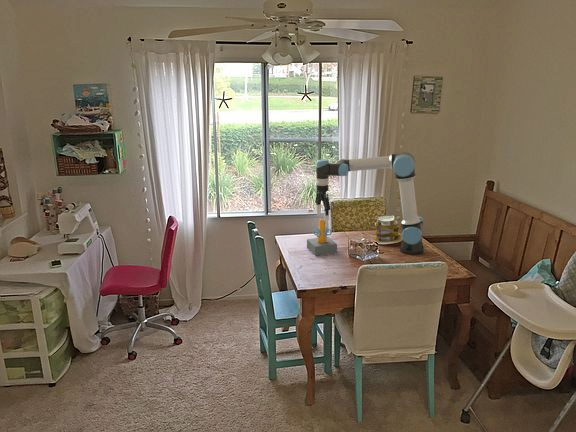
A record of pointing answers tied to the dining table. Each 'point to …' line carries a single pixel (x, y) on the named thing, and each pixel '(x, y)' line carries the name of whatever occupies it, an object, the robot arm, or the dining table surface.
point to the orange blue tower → (322, 232)
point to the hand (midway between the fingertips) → (322, 217)
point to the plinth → (321, 246)
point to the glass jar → (387, 230)
